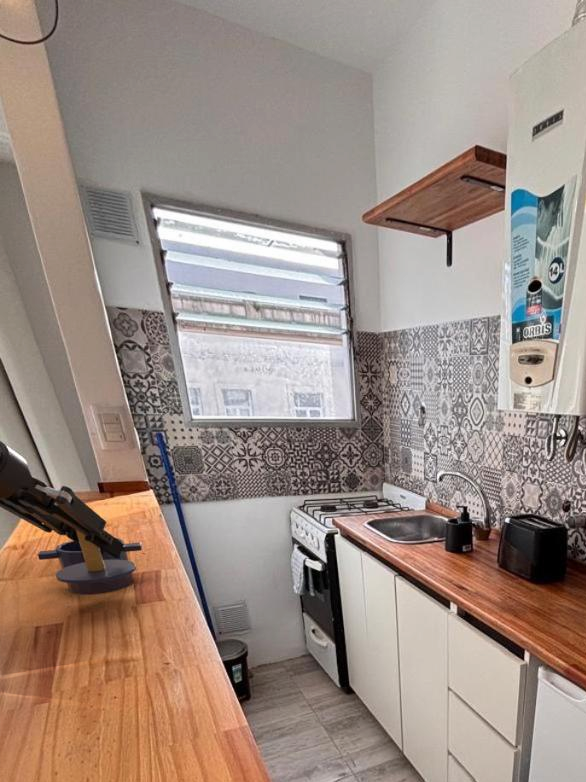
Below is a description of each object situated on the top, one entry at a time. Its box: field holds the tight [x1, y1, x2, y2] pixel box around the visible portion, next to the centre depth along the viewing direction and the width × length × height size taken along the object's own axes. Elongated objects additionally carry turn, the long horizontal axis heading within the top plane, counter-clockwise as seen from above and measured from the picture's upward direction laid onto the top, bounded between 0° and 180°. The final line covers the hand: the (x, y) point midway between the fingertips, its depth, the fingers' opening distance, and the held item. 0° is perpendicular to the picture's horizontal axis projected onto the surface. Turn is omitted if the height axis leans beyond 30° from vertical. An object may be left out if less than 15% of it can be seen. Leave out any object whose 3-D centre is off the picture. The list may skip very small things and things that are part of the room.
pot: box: [37, 537, 143, 595], centre depth 97 cm, size 10×16×8 cm, turn 119°
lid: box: [55, 529, 137, 584], centre depth 84 cm, size 11×11×9 cm
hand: (110, 550), depth 88 cm, fingers closed on lid, 2 cm apart
